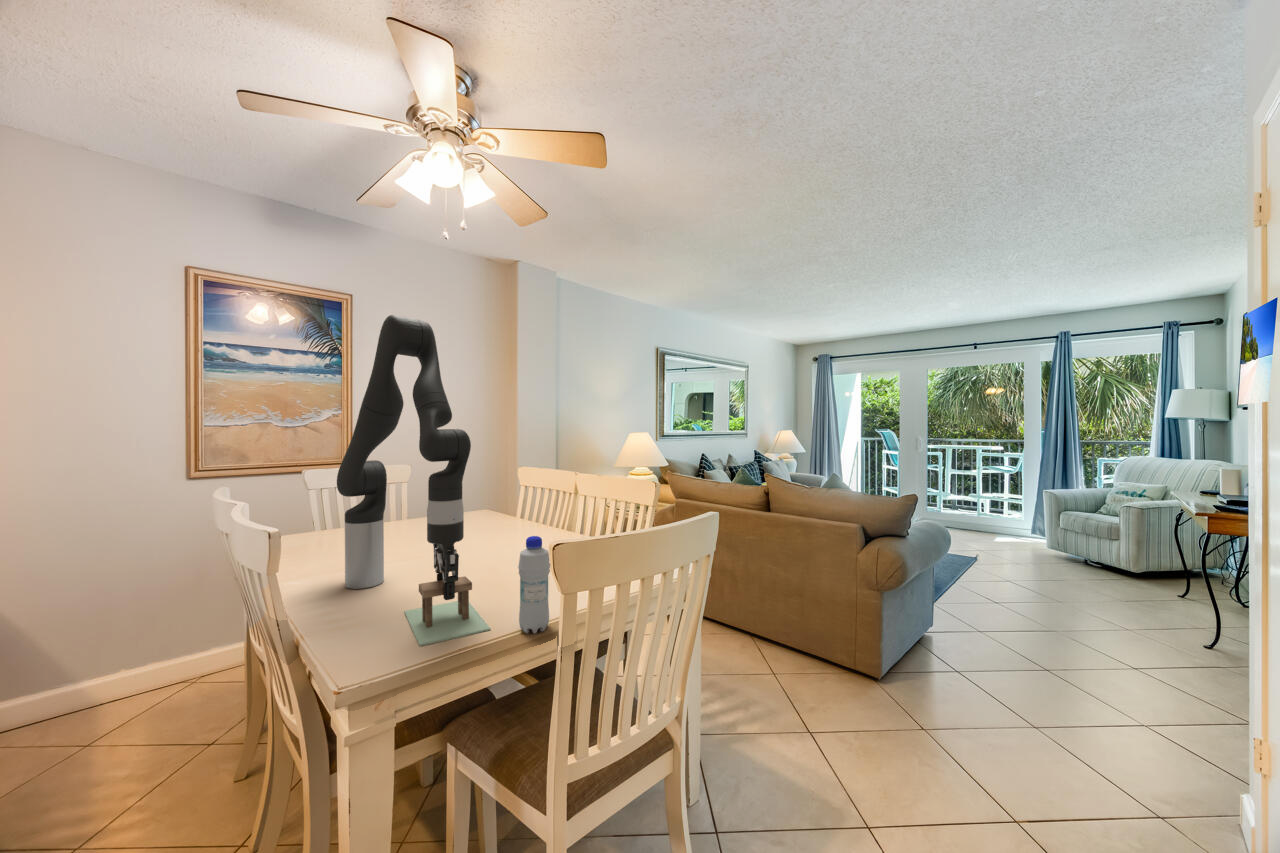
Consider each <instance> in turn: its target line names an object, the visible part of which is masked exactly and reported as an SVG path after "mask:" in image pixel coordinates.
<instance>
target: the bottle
mask: <svg viewBox="0 0 1280 853" xmlns="http://www.w3.org/2000/svg"><path fill="white" fill-rule="evenodd" d="M525 540H526V541H525V549H523V550H521V551H520V553H519V561H518V566H517V568H518V574H519V577H520V580H519V612H518V623H519V627H520V630H522V631H523V632H524V633H526V634H529V633H530V630H531V631H532V633H533V634H537V633H538V630H539V631H540V633H542V632H544V631H545V630H546V628H547V627H548V625H549V622H550V607H549V574H550V572H551V569H550V568H551V562H550V563H549V561H550V553H549V550H548V549H546V548H544V547H543V539H542V537H540V536H538V535H532V536H528V537H527V538H526V539H525Z"/></svg>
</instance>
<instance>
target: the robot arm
mask: <svg viewBox="0 0 1280 853" xmlns="http://www.w3.org/2000/svg"><path fill="white" fill-rule="evenodd" d="M398 355H402V356H407V357H412V358H417V359H418V361H419V363H420V370H419V374H418V376H417V378H416V379H415V382H414V384H413V388H412V400H413V403H414V407H415V411H416V413H417V417H418V420H419V441H418V443H419V444H418V448H419V449H418V450H419V454H421V456H422V458H424V459H425V460H426V461H428V462H431V463H435V462H436V463H437V462H448V463H447V465H446V466H445V468H444V469H442V470H439V471H437V472H433V473H432V474H430V475H429V476H428V481H427V482H428V484H427V485H428V486H427V487H428V488H427V490H428V491H427V494H428V501H427V508H426V527H427V528H426V540H427V542H428V543H429V544H432V545H433V568H434V569H435V570H434V572H435V574H436V581H440V580H443V595H442V596H443V600H445V601H449V600H450V601H451V600H454V599H455V597H456V593H455V581H458V577H459V564H460V563H459V559H460V554H459V553H458V551H457V549H456V548H455V543H459V542H461V541H462V540H463V539H464V536H465V535H464V534H465V533H464V531H465V530H464V528H465V527H464V521H465V520H464V515H465V514H464V503H463V502H464V501H463V480H464V476H465V475H464V474H465V471H466V467H467V463H468V460H469V457H470V454H471V448H472V447H471V446H472V445H471V444H472V442H471V438H470V436H469V434H468V433H467V432H466V431H465V430H463V429H459V428H453V429H450V428H449V429H447V428H446V429H441V428H442V427H444V426H447V425H448V424H450V422H451V421H452V420H453V413H452V409H451V407H450V406H451V405H450V404H449V400H448V397H447V394H446V391H445V389H444V386H443V381H442V376H441V369H440V362H439V354H438V349H437V342H436V337H435V332H434V330H433V327H432V326H431V325H430V323H429V322H428V321H424V320H421V319H417V318H412V317H407V316H403V315H397V314H391V315H388V316H387V317H386V318H385V319H384V321H383V323H382V325H381V329H380V332H379V336H378V342H377V346H376V352H375V357H374V361H373V366H372V369H371V370H372V371H371V374H370V377H369V380H368V384H367V387H366V391H365V393H364V396H363V399H362V401H361V405H360V408H359V413H358V416H357V419H356V423H355V427H354V430H353V433H352V437H351V439H350V441H349V444H348V447H347V450H346V452H345V453H344V456H343V458H342V461H341V462H340V465H339V468H338V471H337V476H336V487H337V488H336V489H337V491H338V493H339V494H340V495H341V496H343V497H349V498H350V497H351V498H352V497H360V496H361V497H362V496H364V497H363V499H362V500H361V501H360V502H359V503H357V505H355V506H353V507H351V508H349V509H347V510H346V511H345V513H344V587H345V588H347V589H352V590H358V589H367V588H372V587H376V586H379V585H381V584H382V583H384V581H385V575H384V574H385V571H384V568H385V558H384V557H385V552H384V551H385V549H384V548H385V547H384V546H385V545H384V541H385V538H384V536H385V535H384V534H385V533H384V531H385V529H384V528H385V527H384V518H385V516H384V515H385V514H384V513H385V510H386V504H387V503H386V500H387V485H388V484H387V483H388V482H387V481H388V478H387V469H386V467H385V465H384V464H383V462H382V461H380V460H375V459H374V460H368V458H369V456H370V455H371V453H372V452H373V451H374V450H375V449H376V448H377V447H378V446H380V445H381V443H383V442H384V441H385V440H386V439H387V438H388V437H389V436H390V435H391V434H393V432H395V430H396V429H397V426H398V424H399V421H400V418H401V415H402V413H403V409H404V399H403V397H404V396H403V394H402V392H401V389H400V386H399V385H398V382H397V379H396V376H395V371H394V370H395V364H396V359H397V356H398ZM439 428H440V429H439ZM450 573H451V575H449V574H450Z"/></svg>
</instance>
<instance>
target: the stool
mask: <svg viewBox="0 0 1280 853" xmlns="http://www.w3.org/2000/svg"><path fill="white" fill-rule="evenodd" d="M470 591H473V582H472V581H471V580H470V579H468V577H467V576H466V575H465V576H458V581H455V594H457V601H458V614H459V615H461V614H462V619H463V620H464V619H469V603H470V602H469V601H470V596H469V595H470V594H469V592H470ZM418 592H419V594H420V595H421V600H422V601H421V602H422V604H421V608H422V621H423V622H425V626H426V627H431V626H432V606H433V598H434V597H439V596H443V580H440V581H437V580H434V581H428V582H423V583H419V584H418Z"/></svg>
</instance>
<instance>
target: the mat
mask: <svg viewBox="0 0 1280 853" xmlns="http://www.w3.org/2000/svg"><path fill="white" fill-rule="evenodd" d="M403 612H404V615H405V617H407V618H406V619H407V621H408V623H409V626H410V628H411V631H412V633H413V634H414V637H415V639H416V642H417V643H418V646H419V647H423V646H427V645H431V644H436V643H441V642H444V641H445V642H446V641H449V640H454V639H457V638H462V637H466V636H470V635H474V634H479V633H484V631H485V632H488V631H491V627H490V626H489V624H488V623H487V622H486V621H485V619H484V618H483V617H482V616H481V615H480V614H479V612H478V611H477V610H476V609H475V607H474V606H473V605H472V604H471V603H470V602H469V619H464V620H463V619H462V614H461V615H459V614H458V600H455V601H451V602H445V603H440V604H435V605H434V604H432V626H431V627H426V626H425V622H423V621H422V607H419V608H413V609H408V610H404V611H403Z"/></svg>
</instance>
